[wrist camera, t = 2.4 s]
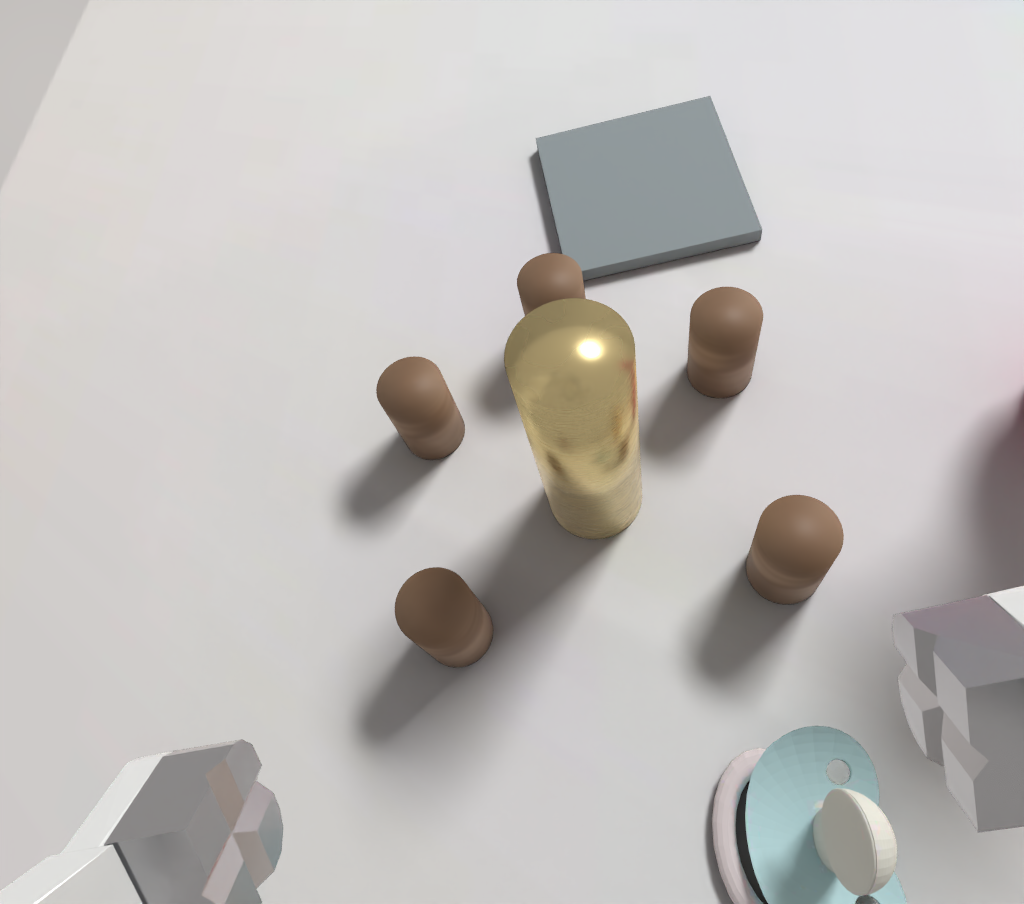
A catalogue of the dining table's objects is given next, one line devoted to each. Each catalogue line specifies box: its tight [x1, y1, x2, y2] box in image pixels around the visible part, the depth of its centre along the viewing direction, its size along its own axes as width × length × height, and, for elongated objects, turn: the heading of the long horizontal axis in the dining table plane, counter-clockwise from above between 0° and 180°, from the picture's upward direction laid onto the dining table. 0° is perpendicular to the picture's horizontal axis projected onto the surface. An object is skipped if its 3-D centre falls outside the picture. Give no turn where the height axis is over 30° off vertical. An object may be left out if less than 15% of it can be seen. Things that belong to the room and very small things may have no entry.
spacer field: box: [377, 253, 843, 667], centre depth 35 cm, size 17×17×4 cm
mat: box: [536, 96, 762, 281], centre depth 43 cm, size 10×10×1 cm
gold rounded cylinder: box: [504, 298, 642, 539], centre depth 31 cm, size 4×4×12 cm
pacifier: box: [712, 726, 907, 904], centre depth 26 cm, size 7×6×6 cm
